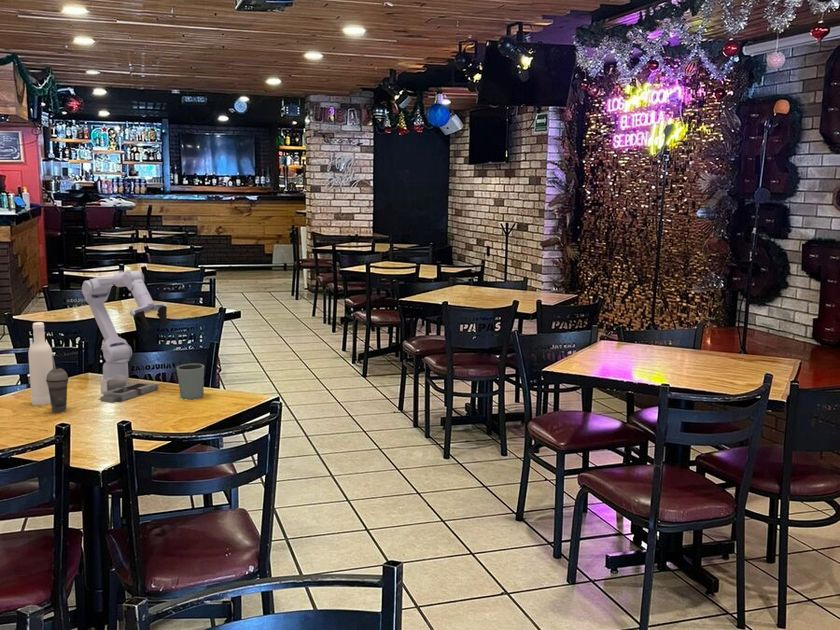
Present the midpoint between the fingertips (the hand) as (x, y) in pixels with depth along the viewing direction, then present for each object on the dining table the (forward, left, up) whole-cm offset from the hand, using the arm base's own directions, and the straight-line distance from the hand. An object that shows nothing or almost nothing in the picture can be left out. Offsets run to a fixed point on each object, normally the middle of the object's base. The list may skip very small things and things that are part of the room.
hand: (157, 327), depth 305 cm
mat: (-9, -7, -26) cm, 28 cm away
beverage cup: (-16, -34, -26) cm, 46 cm away
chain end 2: (-8, -1, -25) cm, 27 cm away
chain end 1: (-8, -14, -25) cm, 30 cm away
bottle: (-29, -29, -26) cm, 49 cm away
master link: (-17, -6, -26) cm, 32 cm away
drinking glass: (+14, +1, -26) cm, 30 cm away
